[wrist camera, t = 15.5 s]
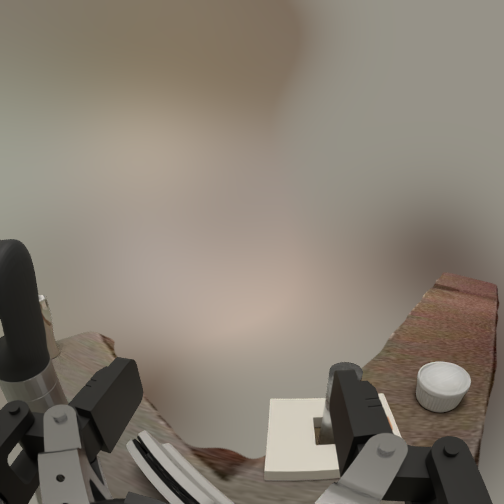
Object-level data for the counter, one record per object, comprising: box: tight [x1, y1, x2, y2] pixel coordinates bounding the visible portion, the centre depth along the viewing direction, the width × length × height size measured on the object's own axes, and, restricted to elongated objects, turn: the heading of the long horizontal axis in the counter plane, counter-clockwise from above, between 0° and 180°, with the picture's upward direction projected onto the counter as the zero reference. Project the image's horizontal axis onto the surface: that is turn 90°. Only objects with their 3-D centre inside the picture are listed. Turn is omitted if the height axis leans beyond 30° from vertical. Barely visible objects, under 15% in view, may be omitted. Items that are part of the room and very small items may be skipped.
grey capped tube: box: [319, 362, 363, 445], centre depth 36 cm, size 4×4×14 cm
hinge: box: [126, 430, 235, 504], centre depth 28 cm, size 17×5×10 cm, turn 44°
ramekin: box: [416, 362, 471, 412], centre depth 42 cm, size 11×11×5 cm
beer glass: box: [38, 295, 60, 359], centre depth 57 cm, size 7×7×15 cm
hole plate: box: [264, 393, 401, 481], centre depth 38 cm, size 20×16×3 cm
